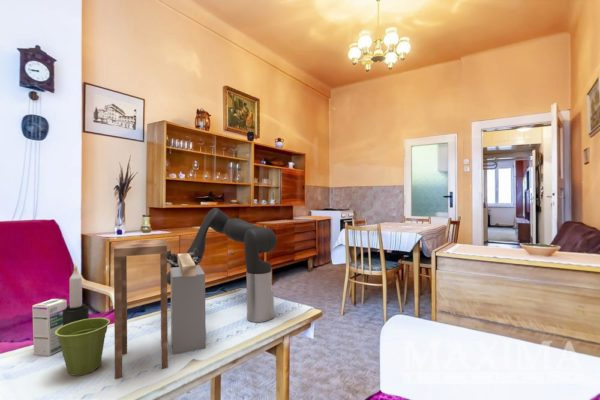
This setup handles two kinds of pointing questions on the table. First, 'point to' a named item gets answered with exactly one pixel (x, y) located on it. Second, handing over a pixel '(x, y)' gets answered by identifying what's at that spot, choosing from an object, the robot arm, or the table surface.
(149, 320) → the table surface
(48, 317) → the syrup box
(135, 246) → the walnut stool
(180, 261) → the birch bar
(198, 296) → the grey rectangular block
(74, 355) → the plant pot
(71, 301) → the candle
